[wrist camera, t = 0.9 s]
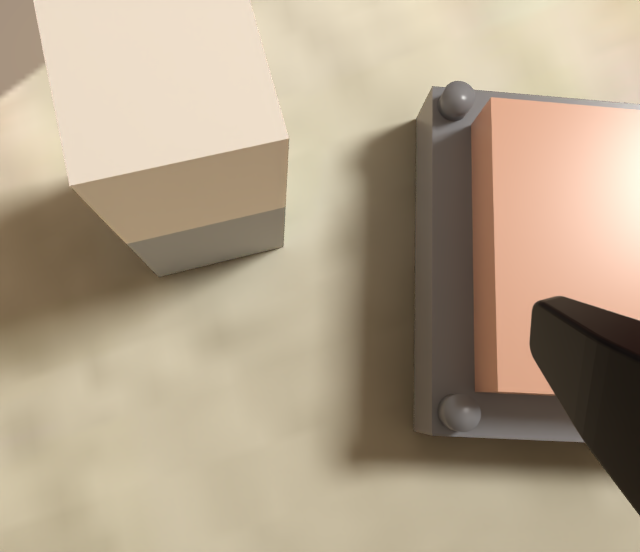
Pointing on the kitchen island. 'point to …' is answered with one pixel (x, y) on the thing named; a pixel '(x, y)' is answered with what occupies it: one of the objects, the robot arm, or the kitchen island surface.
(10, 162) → the kitchen island surface
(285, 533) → the kitchen island surface
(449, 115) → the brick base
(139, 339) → the kitchen island surface
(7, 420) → the kitchen island surface
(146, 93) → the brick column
